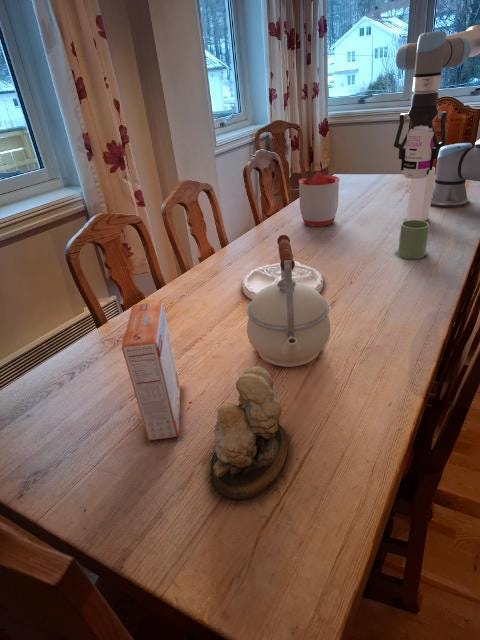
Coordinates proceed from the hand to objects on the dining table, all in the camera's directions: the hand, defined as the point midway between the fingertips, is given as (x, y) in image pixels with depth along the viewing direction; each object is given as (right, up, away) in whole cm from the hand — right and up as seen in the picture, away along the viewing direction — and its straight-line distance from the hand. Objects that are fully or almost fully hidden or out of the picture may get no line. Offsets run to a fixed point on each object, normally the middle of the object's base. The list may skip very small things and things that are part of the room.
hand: (416, 169), depth 142 cm
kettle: (-48, -58, -46) cm, 88 cm away
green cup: (-3, -29, -4) cm, 29 cm away
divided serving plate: (-46, -39, -14) cm, 62 cm away
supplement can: (0, -2, +1) cm, 2 cm away
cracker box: (-73, -68, -60) cm, 117 cm away
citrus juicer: (-27, -10, +32) cm, 43 cm away
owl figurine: (-57, -73, -71) cm, 116 cm away
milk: (+10, -11, +24) cm, 29 cm away
